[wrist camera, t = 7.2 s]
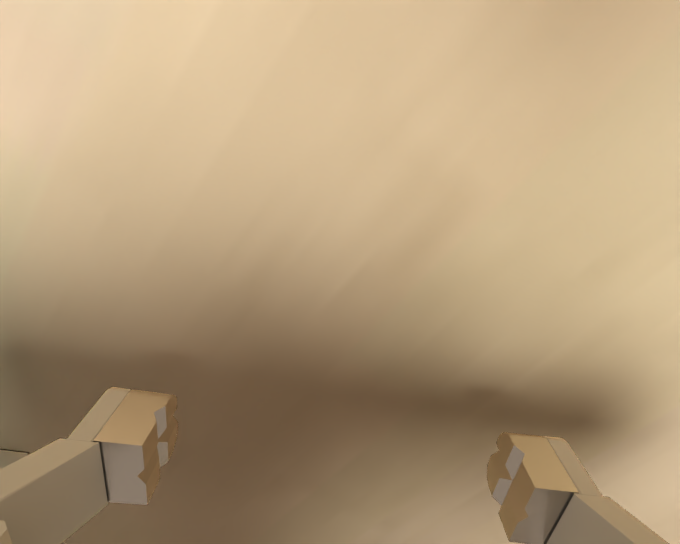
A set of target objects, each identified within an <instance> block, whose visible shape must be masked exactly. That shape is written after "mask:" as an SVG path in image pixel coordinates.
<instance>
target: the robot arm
mask: <svg viewBox="0 0 680 544" xmlns="http://www.w3.org/2000/svg"><path fill="white" fill-rule="evenodd" d="M176 409H177V397H176V396H175V395H172V394H165V393H158V392H150V391H143V390H136V389H133V390H132V389H125V388H118V387H111V388H109V389H107V390H106V391H105V392H104V394H103V395H102V396H101V397H100V398H99V400H98V401H97V402H96V403H95V405H94V406H93V407H92V408H91V409H90V411H89V412H88V413H87V414H86V416H85V417H84V418H83V419H82V421H81V422H80V423H79V424H78V425H77V427H76V428H75V429H74V430H73V432H72V433H71V434H70V435H69V437H68V438H67V439H62V438H59V439H58V440H56V441H54V442H52V443H50V444H48V445H46V446H44V447H42V448H40V449H38V450H37V451H35V452H33V453H31V454H29V455H27V456H25V457H23V458H21V459H19V460H18V461H16V462H14V463H12V464H10V465H8V466H6V467H4V468H2V469H0V544H62V543H63V542H64V541H65V540H66V539H68V538H69V537H70V536H71V535H72V534H74V533H75V532H76V531H77V530H78V529H80V528H81V527H82V526H83V525H84V524H86V523H87V522H88V521H89V520H90V519H92V518H93V517H94V516H95V515H96V514H98V513H99V512H100V511H101V510H102V509H104V508H105V507H106V506H107V505H108V502H111V503H125V504H140V505H148V503H149V501H150V499H151V497H152V495H153V493H154V491H155V489H156V486H157V484H158V482H159V480H160V467H162V466H163V465H165V464H166V463H167V462H169V459H170V457H171V455H172V453H173V450H174V447H175V444H176V440H177V434H178V421H177V420H176V418H175V417H174V416H173V415H174V413H175V411H176ZM496 444H497V447H498V449H499V450H498V451H497V452H496V453H494V454H493V455H491V456H490V459H489V462H488V465H487V481H488V486H489V489H490V492H491V495H492V497H493V498H494V499H495V500H497V501H498V502H499V503H500V504H501V508H500V510H499V513H498V514H499V516H500V519H501V522H502V524H503V527H504V530H505V532H506V535H507V538H508V540H509V541H510V542H518V543H525V544H669V543H668V542H666V541H665V540H664V539H663V538H661V537H660V536H659V535H657V534H656V533H655V532H653V531H652V530H651V529H650V528H648V527H647V526H646V525H644V524H643V523H642V522H641V521H639V520H638V519H637V518H635V517H634V516H633V515H632V514H630V513H629V512H628V511H626V510H625V509H624V508H622V507H621V506H620V505H619V504H617V503H616V502H615V501H613V500H612V499H611V498H610V497H604V496H602V494H601V493H600V491H599V490H598V488H597V487H596V485H595V484H594V482H593V481H592V479H591V478H590V476H589V474H588V473H587V471H586V470H585V468H584V467H583V465H582V464H581V462H580V461H579V459H578V458H577V456H576V454H575V453H574V451H573V450H572V448H571V447H570V445H569V444H568V442H567V441H566V440H564V439H563V438H559V437H549V436H537V435H528V434H518V433H509V432H503V433H501V434H500V435H499V437H498V439H497V442H496Z"/></svg>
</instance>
